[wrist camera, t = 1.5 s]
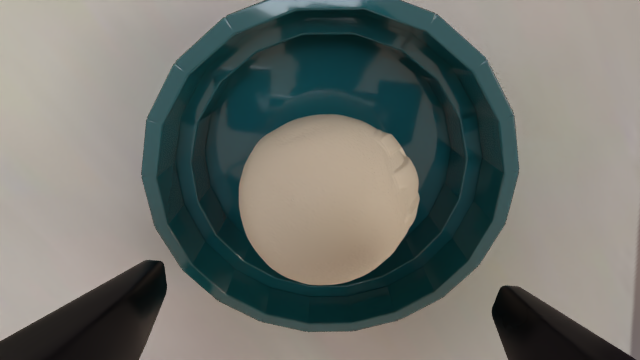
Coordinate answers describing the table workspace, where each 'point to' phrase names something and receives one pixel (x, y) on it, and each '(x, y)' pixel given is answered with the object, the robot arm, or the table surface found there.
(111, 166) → the table surface
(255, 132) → the bowl
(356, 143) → the beige round lump
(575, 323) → the robot arm
